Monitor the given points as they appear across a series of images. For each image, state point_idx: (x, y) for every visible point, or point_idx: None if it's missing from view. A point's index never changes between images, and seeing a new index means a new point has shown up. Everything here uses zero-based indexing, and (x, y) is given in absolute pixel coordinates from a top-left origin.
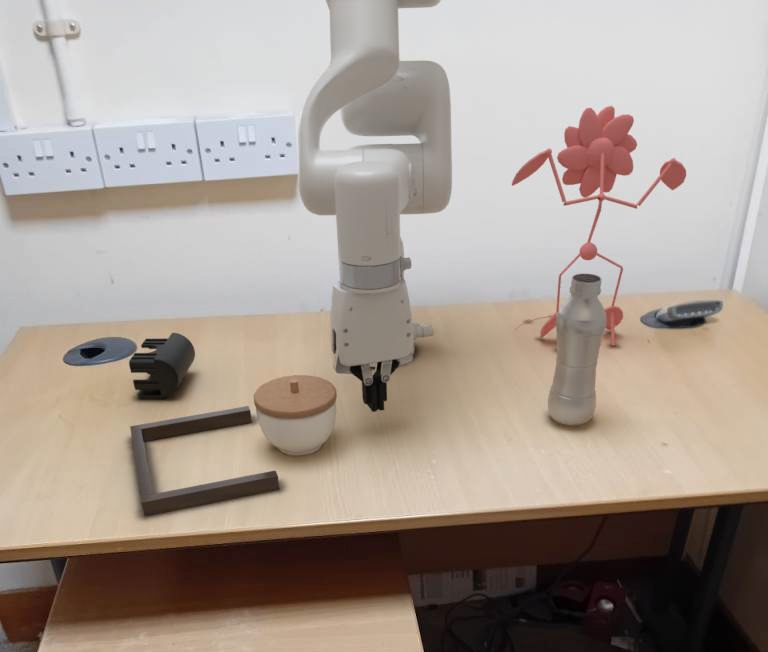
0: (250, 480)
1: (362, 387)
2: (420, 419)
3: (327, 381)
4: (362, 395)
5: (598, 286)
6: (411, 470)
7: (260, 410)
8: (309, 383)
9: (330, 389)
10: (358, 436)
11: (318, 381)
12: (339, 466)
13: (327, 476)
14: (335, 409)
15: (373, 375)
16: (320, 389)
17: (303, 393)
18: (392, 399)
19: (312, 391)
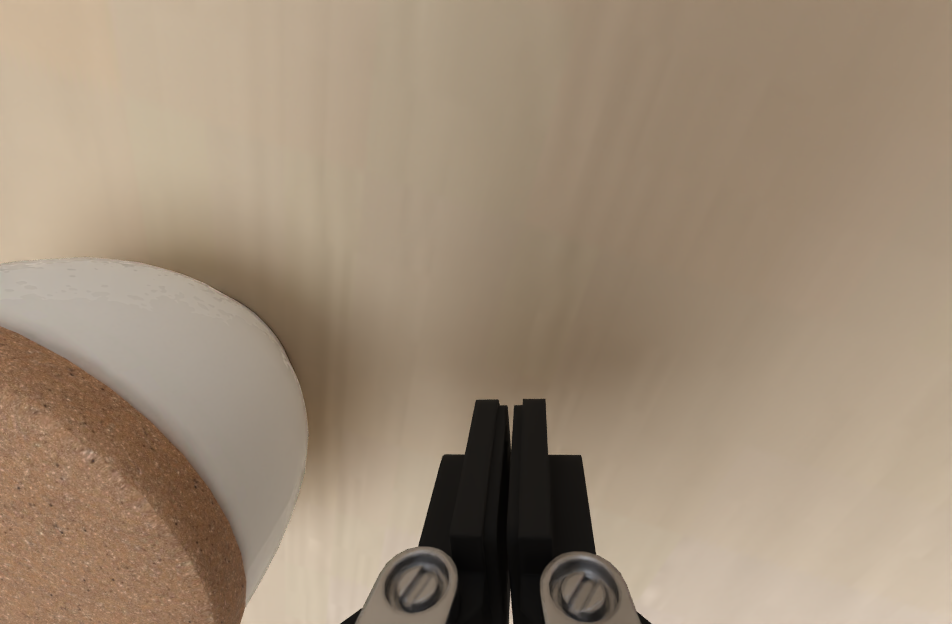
0: None
1: (428, 523)
2: (758, 335)
3: (143, 523)
4: (438, 471)
5: None
6: None
7: None
8: (10, 520)
9: (178, 620)
10: (438, 382)
11: (71, 511)
12: (345, 525)
13: (306, 554)
14: (268, 563)
15: (524, 549)
16: (109, 609)
17: (10, 612)
18: (728, 57)
19: (61, 611)
